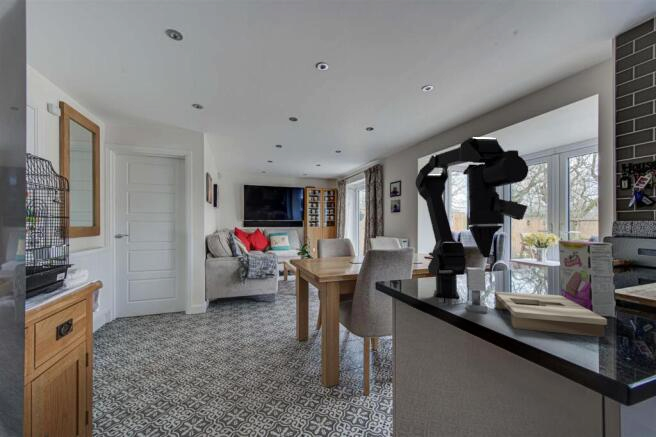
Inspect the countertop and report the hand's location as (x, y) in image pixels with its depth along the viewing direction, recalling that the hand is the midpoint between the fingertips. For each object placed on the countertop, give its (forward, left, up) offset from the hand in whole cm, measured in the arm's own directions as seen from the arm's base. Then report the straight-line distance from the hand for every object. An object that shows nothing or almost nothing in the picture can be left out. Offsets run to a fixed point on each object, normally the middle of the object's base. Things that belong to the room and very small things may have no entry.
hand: (484, 255), depth 66 cm
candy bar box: (-10, +23, -14) cm, 28 cm away
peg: (-2, -2, -13) cm, 14 cm away
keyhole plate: (+1, +10, -13) cm, 17 cm away
